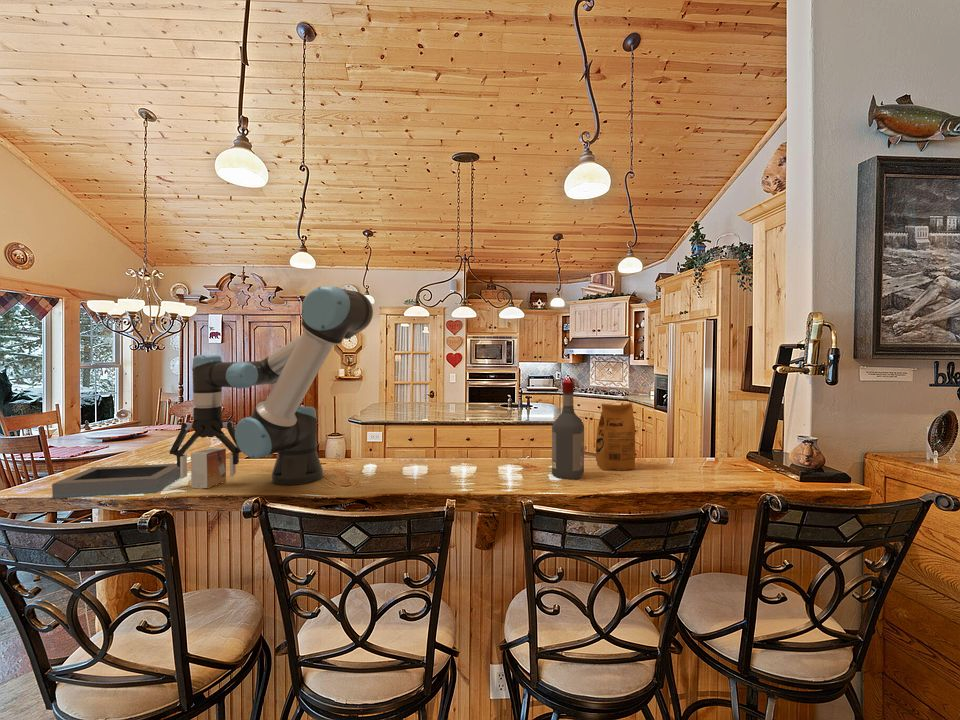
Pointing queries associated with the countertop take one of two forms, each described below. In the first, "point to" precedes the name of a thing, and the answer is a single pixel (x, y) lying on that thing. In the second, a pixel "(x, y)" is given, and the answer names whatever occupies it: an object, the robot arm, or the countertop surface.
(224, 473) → the small box
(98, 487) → the tray
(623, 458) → the coffee package
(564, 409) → the liquor
